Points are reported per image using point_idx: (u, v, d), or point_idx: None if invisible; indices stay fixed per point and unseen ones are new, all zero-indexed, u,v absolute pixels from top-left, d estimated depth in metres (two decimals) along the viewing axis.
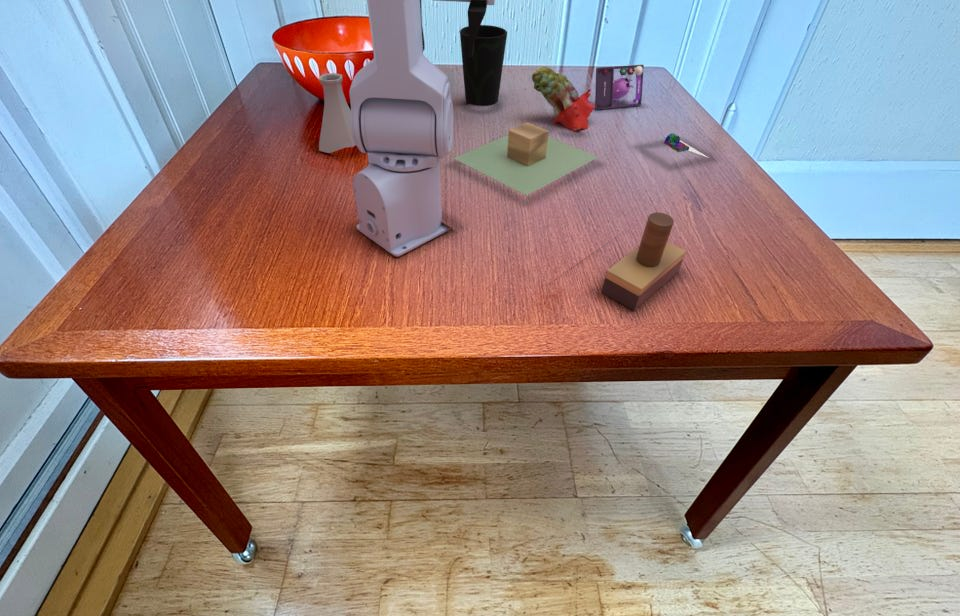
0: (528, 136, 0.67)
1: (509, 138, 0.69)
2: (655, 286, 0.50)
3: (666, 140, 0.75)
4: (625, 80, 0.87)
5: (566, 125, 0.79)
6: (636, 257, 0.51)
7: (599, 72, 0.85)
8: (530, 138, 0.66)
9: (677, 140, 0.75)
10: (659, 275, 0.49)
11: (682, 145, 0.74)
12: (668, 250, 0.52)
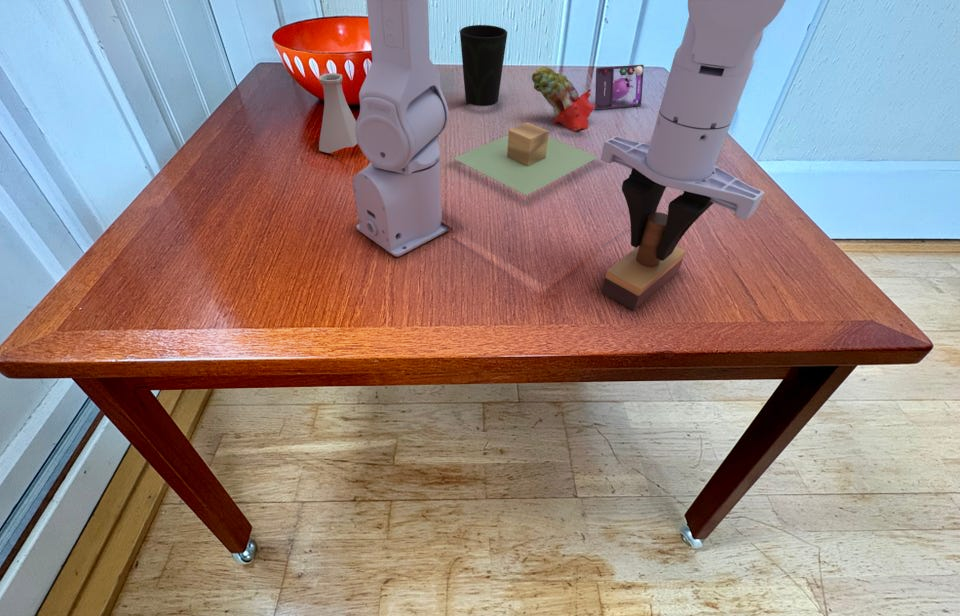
0: (528, 136, 0.67)
1: (509, 138, 0.69)
2: (655, 286, 0.50)
3: None
4: (625, 80, 0.87)
5: (566, 125, 0.79)
6: (636, 257, 0.51)
7: (599, 72, 0.85)
8: (530, 138, 0.66)
9: None
10: (659, 275, 0.49)
11: None
12: None
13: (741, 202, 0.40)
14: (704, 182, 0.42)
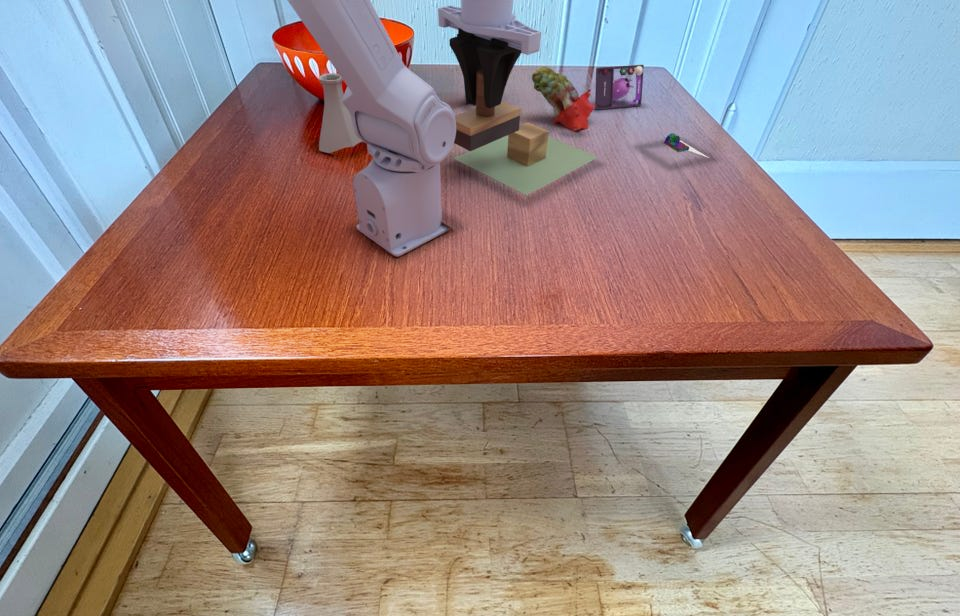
0: (528, 136, 0.67)
1: (509, 138, 0.69)
2: (490, 133, 0.62)
3: (666, 140, 0.75)
4: (625, 80, 0.87)
5: (566, 125, 0.79)
6: (475, 110, 0.62)
7: (599, 72, 0.85)
8: (530, 138, 0.66)
9: (677, 140, 0.75)
10: (491, 122, 0.61)
11: (682, 145, 0.74)
12: (505, 107, 0.64)
13: (522, 39, 0.52)
14: (500, 28, 0.53)
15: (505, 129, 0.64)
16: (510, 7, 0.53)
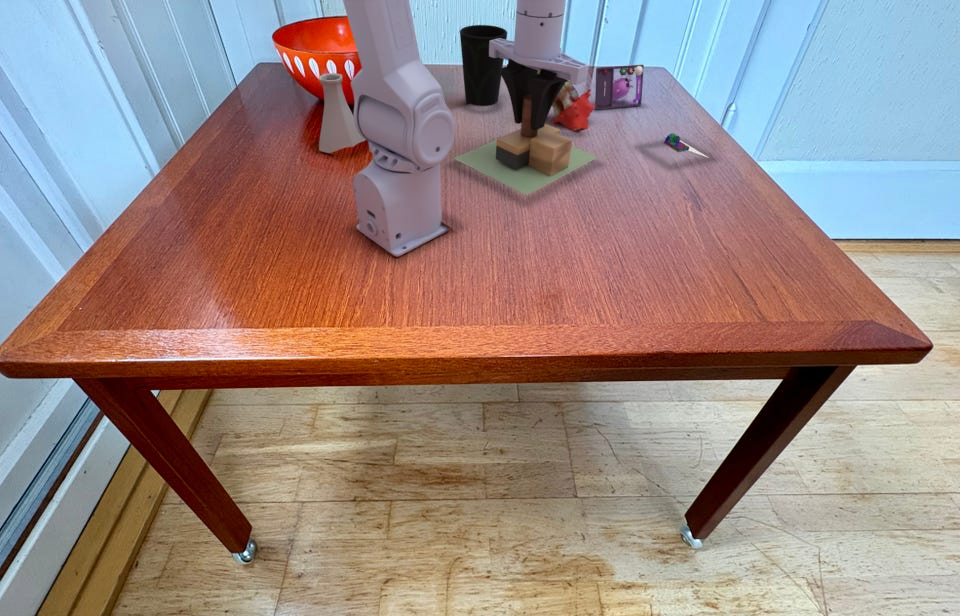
0: (551, 146, 0.65)
1: (531, 147, 0.67)
2: None
3: (666, 140, 0.75)
4: (625, 80, 0.87)
5: (566, 125, 0.79)
6: (520, 131, 0.69)
7: (599, 72, 0.85)
8: (553, 147, 0.64)
9: (677, 140, 0.75)
10: None
11: (682, 145, 0.74)
12: (546, 129, 0.70)
13: (571, 71, 0.58)
14: (550, 61, 0.59)
15: None
16: (559, 42, 0.59)
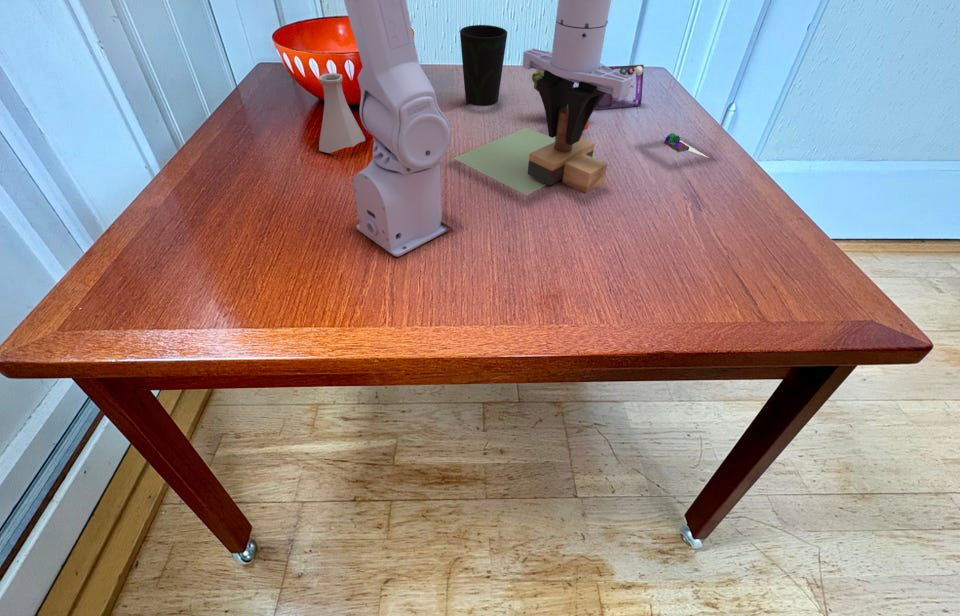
0: (587, 170, 0.62)
1: (565, 171, 0.65)
2: None
3: (666, 140, 0.75)
4: None
5: None
6: (554, 145, 0.65)
7: None
8: (589, 172, 0.62)
9: (677, 140, 0.75)
10: (570, 157, 0.64)
11: (682, 145, 0.74)
12: (580, 143, 0.67)
13: (614, 84, 0.55)
14: (590, 73, 0.56)
15: None
16: (600, 54, 0.56)
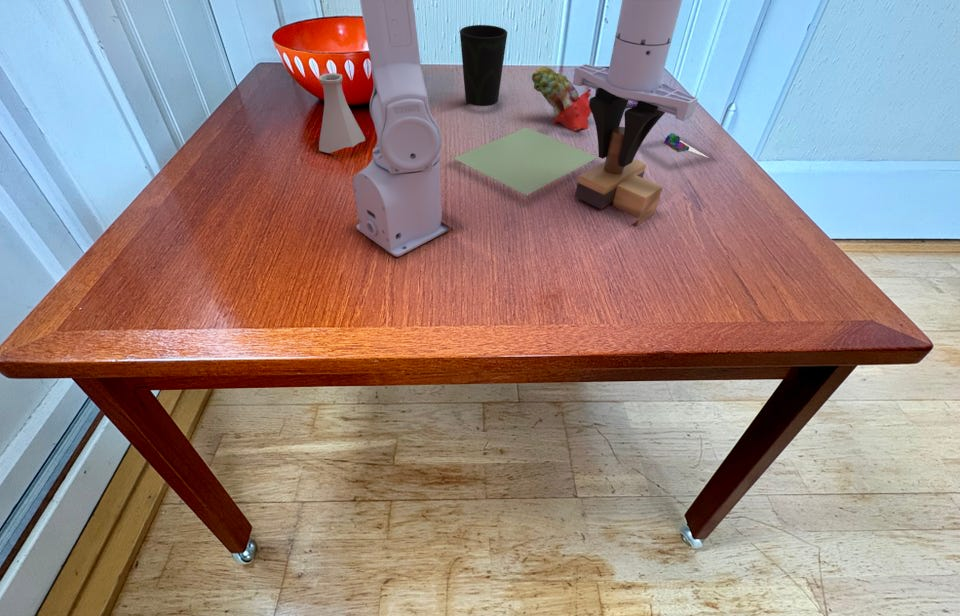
0: (642, 194, 0.58)
1: (616, 194, 0.61)
2: None
3: (666, 140, 0.75)
4: None
5: (566, 125, 0.79)
6: (604, 167, 0.61)
7: None
8: (644, 196, 0.58)
9: (677, 140, 0.75)
10: (621, 180, 0.60)
11: (682, 145, 0.74)
12: (631, 163, 0.63)
13: (679, 105, 0.51)
14: (652, 93, 0.52)
15: None
16: (662, 72, 0.52)
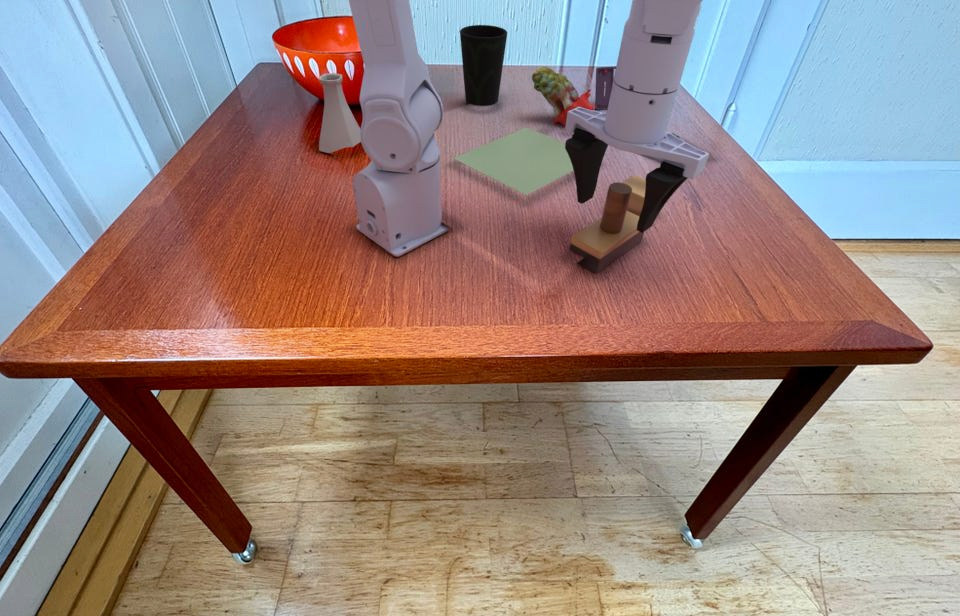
0: (641, 194, 0.58)
1: None
2: (617, 252, 0.55)
3: None
4: None
5: None
6: (600, 225, 0.55)
7: (599, 72, 0.85)
8: (644, 196, 0.58)
9: None
10: (620, 241, 0.54)
11: None
12: (630, 220, 0.56)
13: (687, 162, 0.44)
14: (655, 145, 0.45)
15: (630, 244, 0.56)
16: (668, 121, 0.45)
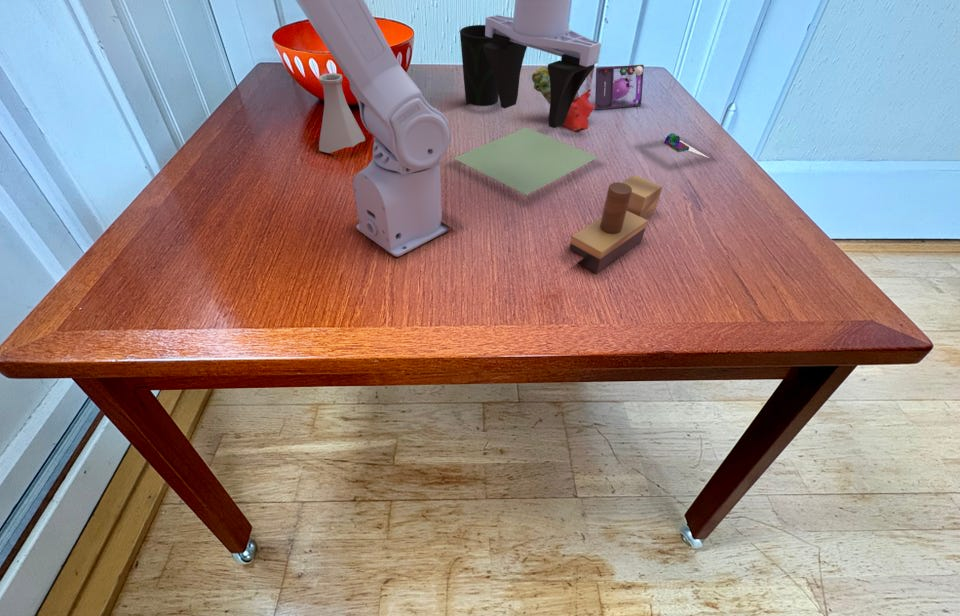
0: (641, 194, 0.58)
1: None
2: (617, 252, 0.55)
3: (666, 140, 0.75)
4: (625, 80, 0.87)
5: (566, 125, 0.79)
6: (600, 225, 0.55)
7: (599, 72, 0.85)
8: (644, 196, 0.58)
9: (677, 140, 0.75)
10: (620, 241, 0.54)
11: (682, 145, 0.74)
12: (630, 220, 0.56)
13: (581, 50, 0.49)
14: (556, 39, 0.51)
15: (630, 244, 0.56)
16: (567, 17, 0.51)
